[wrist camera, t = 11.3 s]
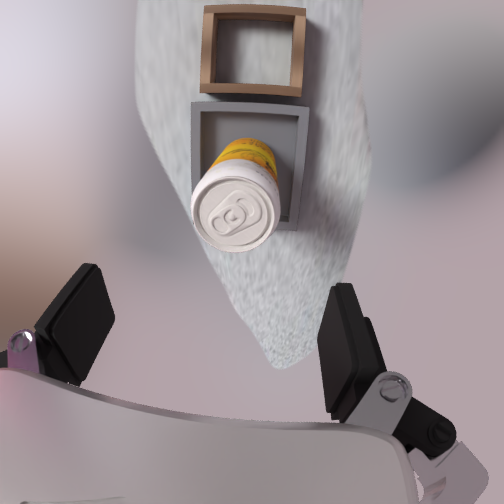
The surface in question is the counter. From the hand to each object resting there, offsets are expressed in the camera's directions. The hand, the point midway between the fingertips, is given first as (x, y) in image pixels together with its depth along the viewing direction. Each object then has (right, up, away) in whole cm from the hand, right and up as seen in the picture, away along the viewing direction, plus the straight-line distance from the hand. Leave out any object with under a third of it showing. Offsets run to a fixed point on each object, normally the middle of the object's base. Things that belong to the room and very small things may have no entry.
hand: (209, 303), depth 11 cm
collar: (+2, +23, +14) cm, 27 cm away
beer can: (+1, +12, +20) cm, 24 cm away
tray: (+1, +12, +21) cm, 24 cm away
